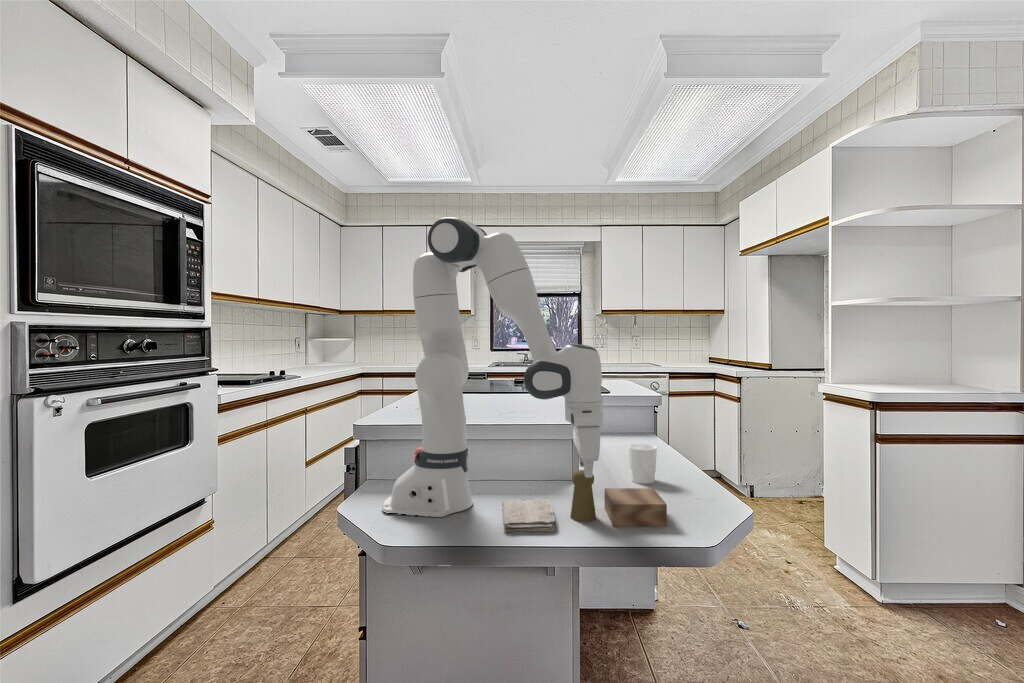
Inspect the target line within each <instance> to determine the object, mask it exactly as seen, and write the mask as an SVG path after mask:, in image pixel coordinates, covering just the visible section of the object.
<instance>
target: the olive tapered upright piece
mask: <svg viewBox="0 0 1024 683" xmlns="http://www.w3.org/2000/svg"><path fill="white" fill-rule="evenodd" d="M571 480H572V483H573V486H574V487H573V493H572V501H571V510H570V514H569V515H570V516H569V517H570V519H571V520H573V521H576V522H582V523H588V522H593V521H595V520H596V519H597V515H596V508H595V499H594V492H593V484H594V482H595V476H594V474H593V476H592V477H591V478H586V477H585V475H584V469H578V470H575V471H573V472H572V475H571Z"/></svg>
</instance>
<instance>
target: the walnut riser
mask: <svg viewBox="0 0 1024 683" xmlns="http://www.w3.org/2000/svg"><path fill="white" fill-rule="evenodd" d="M667 508H668V507H667V503H666V502H665V500H664V499H663V498H662V497H661V496H660V495H659V493H658V492H657V491H656V490H655V488H650V487H649V488H645V487H644V488H643V487H642V488H641V487H640V488H637V487H635V488H634V487H633V488H627V487H624V488H622V487H621V488H620V487H619V488H618V487H617V488H614V487H613V488H611V487H610V488H606V487H605V488H604V510H606V511H605V512H607V513H606V514H608V515H607V516H608V518H609V521H610V523H611V525H612V527H613V528H614V527H620V528H621V527H625V528H626V527H628V528H629V527H635V528H636V527H667V524H668V522H667V520H668V518H667V513H668V512H667V511H668V510H667Z"/></svg>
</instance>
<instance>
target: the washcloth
mask: <svg viewBox="0 0 1024 683" xmlns="http://www.w3.org/2000/svg"><path fill="white" fill-rule="evenodd" d="M501 507H502V521H503V522H502V525H503V532H504V534H507V533H508V534H509V533H511V534H539V533H540V534H546V533H553V532H555V522H556V519H555V512H554V509H553V508H552V504H551V503H550V500H549V499H548V498H547V499H546V498H543V499H540V498H539V499H537V498H536V499H535V498H534V499H528V500H504V501H502V504H501Z"/></svg>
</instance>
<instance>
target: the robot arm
mask: <svg viewBox="0 0 1024 683" xmlns="http://www.w3.org/2000/svg"><path fill="white" fill-rule="evenodd" d="M484 230H485V229H482V228H481V227H479V226H477V225H476V224H474V223H472V222H470V221H468V220H463V219H460V218H458V217H455V216H454V217H451V216H450V217H449V216H448V217H442V218H440V219H438V220H437V221H434V223H433V224H432V225H431V227H430V229H429V230H428V233H427V246H428V248H429V250H430V252H426V253H424V254H421V255H419V256H418V257H417V258H416V259H415V261H414V263H413V268H412V270H413V271H412V293H413V294H412V295H413V303H414V304H413V305H414V315H415V324H416V331H417V333H418V336H419V340H420V342H421V347H422V351H423V355H424V357H423V359H421V360H420V362H419V363H418V365H417V368H416V370H415V375H414V378H415V383H416V387H417V395H418V402H419V408H420V413H421V430H422V431H421V432H422V434H421V437H422V438H421V439H422V442H421V444H422V447H421V446H420V447H417V449H415V452H414V454H413V455H414V456H413V460H414V465H412V466H411V467H410V468H409V469H407V470H405V471H404V473H403V474H402V475H400V476H399V477H398V478H397V479H396V480H395V482H394V484H393V488H392V492H391V495H390V496H388V497H387V498H386V499H385V500H384V501H383V504H382V508H383V510H384V511H385V512H389V513H398V514H397V515H401V514H406V516H415V515H418V517H429V516H430V517H433V518H443V517H446V516H448V515H450V514H455V513H459V512H462V511H465V510H468V509H469V508H470V507H472V506H473V505H474V500H473V498H472V494H471V489H470V483H469V477H468V470H469V465H470V464H469V463H470V462H469V449H468V448H467V416H466V411H465V404H464V395H463V386H464V385H465V384H466V382H467V380H468V378H469V373H470V370H469V362H468V356H467V351H466V345H465V341H464V340H465V339H464V335H463V331H462V324H461V316H460V307H459V306H460V305H459V304H460V303H459V297H458V296H459V295H458V288H457V277H458V276H457V275H458V274H459V272H460V273H465V272H467V271H469V270H471V269H473V268H475V267H478V268H479V270H480V272H481V273H482V275H483V279H484V281H485V284H486V287H487V289H488V292H489V295H490V297H491V299H492V300H493V302H494V304H495V306H496V308H497V309H498V310H499V311H500V312H501V313H503V314H504V315H505V316H506V317H508V318H509V319H511V320H512V321H513V322H514V323H515V324H516V325H517V326H518V328H519V329H520V331H521V333H522V335H523V337H524V340H525V342H526V344H527V347H528V349H529V352H530V354H531V357H532V359H533V360H532V361H533V362H532V363H531V364H530V365H529V366H527V368H526V369H525V372H524V375H523V384H524V387H525V390H526V391H527V393H528V394H529V395H530V396H532V397H533V398H535V399H539V400H544V401H545V400H551V399H554V398H558V397H564V414H565V415H564V419H565V421H566V422H569V423H570V428H572V439H573V444H574V446H575V449H576V450H577V454H578V462H579V466H580V467H582V468H583V470H584V475H585V477H586V478H591V477H592V476H593V475H594V472H593V471H594V462H597V461H598V460H599V459H600V451H601V450H600V448H601V427H602V426H604V403H603V401H604V400H603V395H602V391H601V387H602V383H603V376H602V374H603V373H602V372H603V371H602V361H601V357H600V354H599V351H598V350H597V349H596V348H594V346H591V345H586V344H581V343H580V344H579V343H569V344H566V345H565V346H564V347H563V348H562V349H559V350H557V349H556V348H557V347H556V346H555V344H554V341H553V339H552V337H551V334H550V332H549V329H548V327H547V324H546V321H545V319H544V317H543V313H542V310H541V306H540V302H539V301H540V300H539V297H538V293H537V289H536V285H535V282H534V278H533V276H532V273H531V270H530V267H529V265H528V264H529V263H528V262H527V260H526V258H525V256H524V254H523V252H522V250H521V247H520V246H519V244H518V243H517V241H516V240H515V238H514V237H513V236H512V235H511V234H509V233H507V232H494V233H491V234H489V235H488V234H487V233H486V232H485V231H484ZM383 510H382V511H383Z"/></svg>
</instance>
